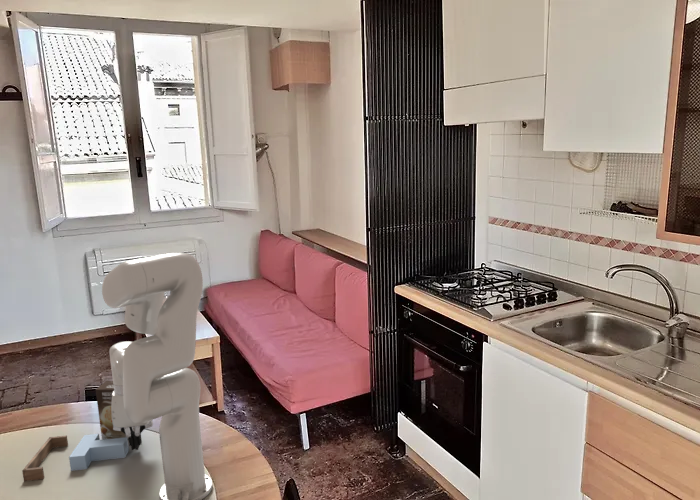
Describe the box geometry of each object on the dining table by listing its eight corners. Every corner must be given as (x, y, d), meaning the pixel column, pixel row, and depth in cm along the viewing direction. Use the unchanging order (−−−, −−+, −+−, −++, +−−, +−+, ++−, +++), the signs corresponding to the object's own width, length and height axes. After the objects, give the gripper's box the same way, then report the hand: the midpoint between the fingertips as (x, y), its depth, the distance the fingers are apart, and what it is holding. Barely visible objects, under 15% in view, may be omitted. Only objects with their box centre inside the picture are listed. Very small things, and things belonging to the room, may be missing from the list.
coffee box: (100, 439, 165) (93, 389, 163) (111, 429, 172) (105, 380, 169) (129, 440, 164) (123, 389, 162) (140, 429, 171) (134, 380, 168)
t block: (121, 465, 151) (119, 451, 150) (70, 470, 149) (69, 457, 149) (132, 443, 163) (130, 430, 162) (86, 447, 161) (84, 435, 160)
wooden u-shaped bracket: (43, 478, 146) (41, 468, 146) (23, 481, 145) (22, 470, 145) (68, 444, 163) (66, 435, 163) (51, 446, 163) (49, 437, 162)
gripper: (159, 378, 158) (165, 438, 161) (104, 383, 157) (112, 443, 160) (153, 389, 151) (160, 451, 154) (96, 394, 149) (104, 457, 152)
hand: (136, 447), depth 157 cm, fingers closed
